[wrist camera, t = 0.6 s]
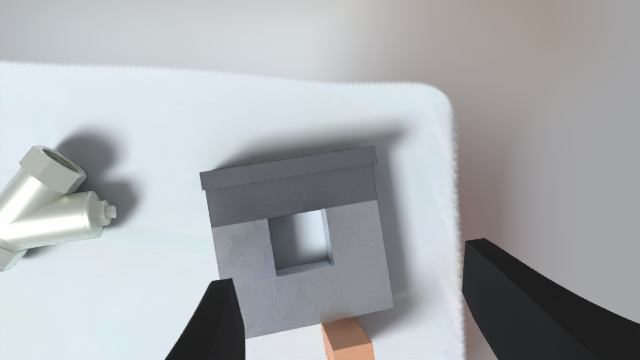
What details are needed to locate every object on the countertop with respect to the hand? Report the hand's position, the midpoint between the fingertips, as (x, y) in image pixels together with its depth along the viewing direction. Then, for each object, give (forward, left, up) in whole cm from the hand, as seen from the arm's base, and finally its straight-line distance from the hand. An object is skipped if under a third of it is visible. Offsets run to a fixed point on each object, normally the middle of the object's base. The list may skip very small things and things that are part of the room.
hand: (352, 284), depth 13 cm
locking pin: (-9, -2, -21) cm, 23 cm away
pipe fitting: (+3, +17, -21) cm, 27 cm away
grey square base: (-1, 0, -21) cm, 21 cm away
